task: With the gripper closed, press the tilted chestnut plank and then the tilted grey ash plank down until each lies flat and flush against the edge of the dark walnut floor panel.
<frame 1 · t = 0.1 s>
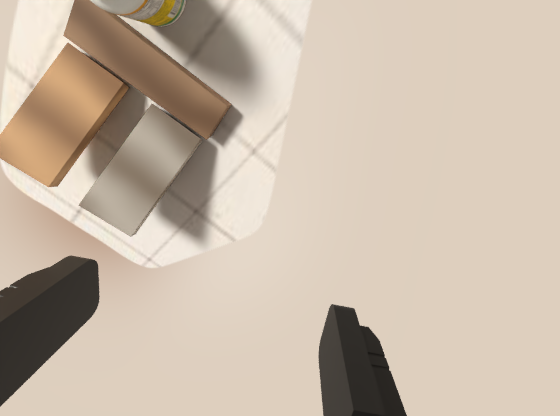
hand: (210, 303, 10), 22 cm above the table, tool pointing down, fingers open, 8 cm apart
walnut panel: (156, 71, 27), on the table
grey ash plank: (143, 171, 28), point 3 cm above the table, hinge at 25.0°
chestnut plank: (62, 117, 27), point 3 cm above the table, hinge at 25.0°
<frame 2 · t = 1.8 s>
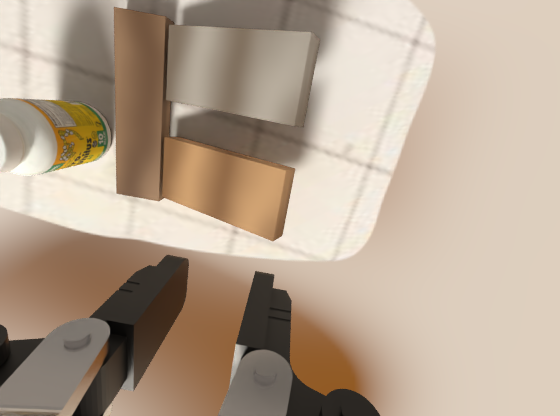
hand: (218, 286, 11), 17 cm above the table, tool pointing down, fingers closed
walnut panel: (148, 113, 25), on the table
grey ash plank: (233, 73, 21), point 3 cm above the table, hinge at 25.0°
supplement bottle: (87, 132, 26), on the table
chestnut plank: (221, 184, 23), point 3 cm above the table, hinge at 25.0°
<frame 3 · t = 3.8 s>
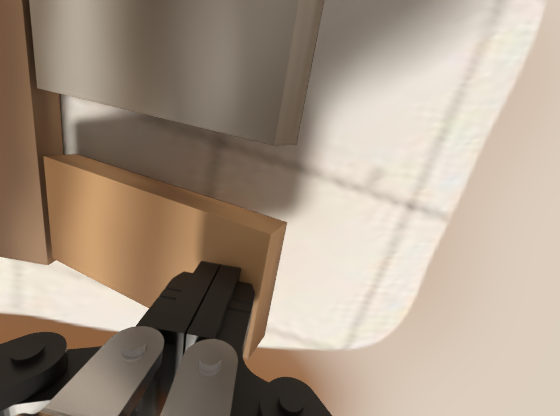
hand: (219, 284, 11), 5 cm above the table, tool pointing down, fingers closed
walnut panel: (21, 114, 14), on the table
grey ash plank: (148, 29, 10), point 3 cm above the table, hinge at 25.0°
chestnut plank: (150, 243, 13), point 3 cm above the table, hinge at 20.7°, touching gripper
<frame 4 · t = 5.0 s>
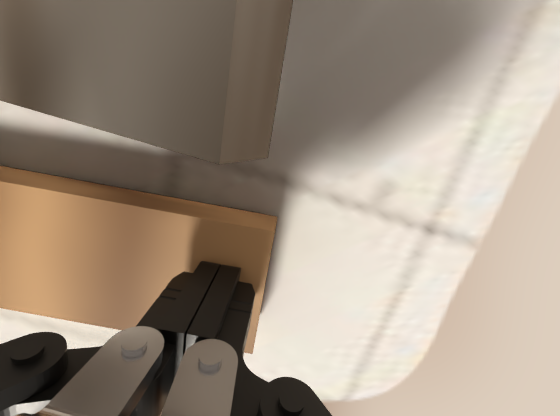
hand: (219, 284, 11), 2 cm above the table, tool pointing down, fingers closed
chestnut plank: (117, 259, 11), point 1 cm above the table, hinge at 1.4°, touching gripper
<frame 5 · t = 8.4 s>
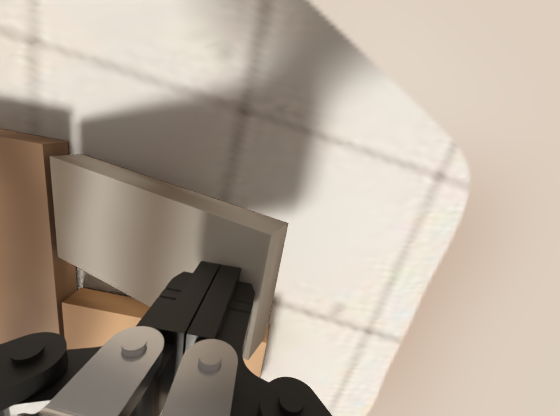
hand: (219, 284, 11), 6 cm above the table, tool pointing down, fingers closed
walnut panel: (43, 259, 17), on the table
grey ash plank: (153, 242, 13), point 3 cm above the table, hinge at 21.8°, touching gripper
chestnut plank: (167, 349, 18), point 1 cm above the table, hinge at 1.3°
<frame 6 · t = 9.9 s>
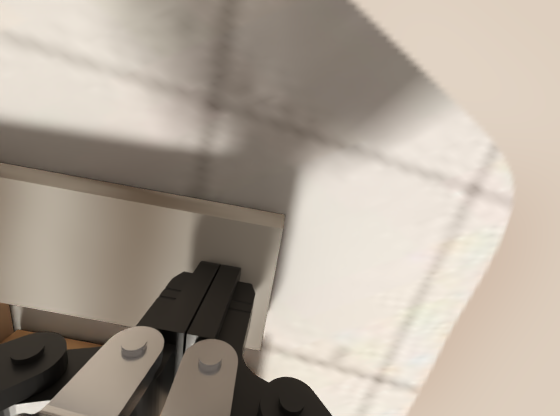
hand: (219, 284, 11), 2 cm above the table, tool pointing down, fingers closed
grey ash plank: (127, 256, 11), point 1 cm above the table, hinge at 1.3°
chestnut plank: (127, 405, 14), point 1 cm above the table, hinge at 1.3°
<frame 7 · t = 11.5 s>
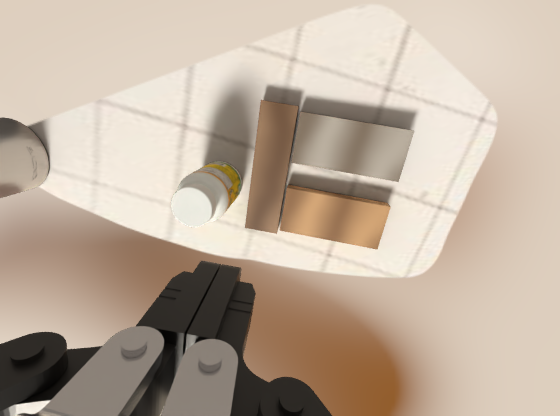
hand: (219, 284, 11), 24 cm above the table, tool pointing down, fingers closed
walnut panel: (271, 169, 34), on the table
grey ash plank: (349, 146, 31), point 1 cm above the table, hinge at 1.3°
supplement bottle: (222, 181, 35), on the table
chestnut plank: (332, 216, 34), point 1 cm above the table, hinge at 1.3°
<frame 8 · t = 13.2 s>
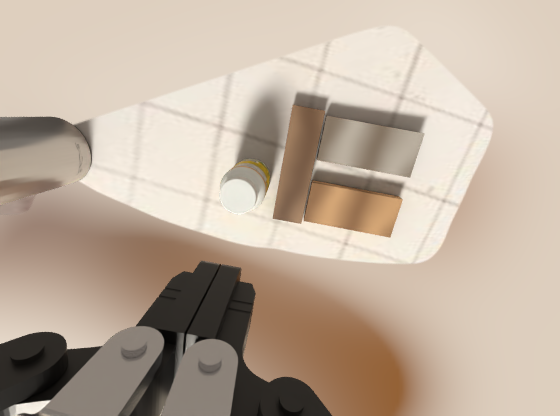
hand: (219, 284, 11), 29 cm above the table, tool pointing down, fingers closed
walnut panel: (297, 166, 38), on the table
grey ash plank: (367, 146, 36), point 1 cm above the table, hinge at 1.3°
supplement bottle: (251, 177, 39), on the table
chestnut plank: (351, 208, 39), point 1 cm above the table, hinge at 1.3°
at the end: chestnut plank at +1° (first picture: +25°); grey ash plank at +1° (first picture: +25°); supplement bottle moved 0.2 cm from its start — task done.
